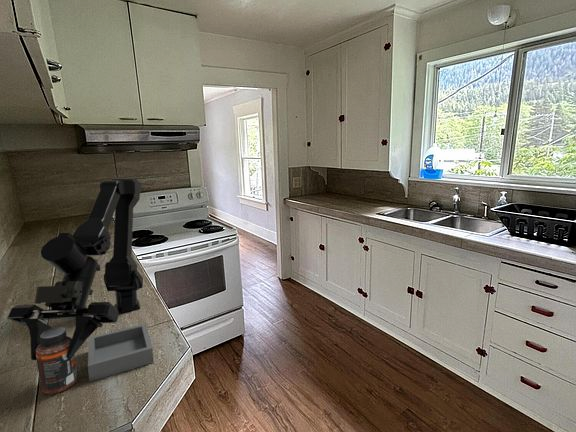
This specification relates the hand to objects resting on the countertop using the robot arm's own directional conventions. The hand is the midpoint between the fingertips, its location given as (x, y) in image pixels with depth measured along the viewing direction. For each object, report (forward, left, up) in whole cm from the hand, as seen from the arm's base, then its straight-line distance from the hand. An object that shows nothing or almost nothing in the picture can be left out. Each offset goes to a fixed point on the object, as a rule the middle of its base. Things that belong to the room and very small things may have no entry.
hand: (51, 359), depth 60 cm
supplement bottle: (-1, +1, -7) cm, 7 cm away
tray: (-5, +12, -7) cm, 14 cm away
